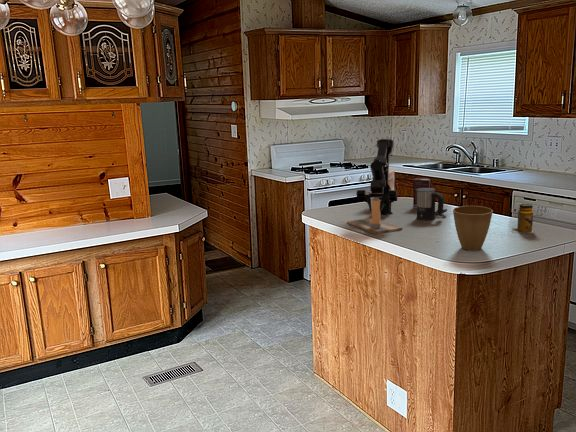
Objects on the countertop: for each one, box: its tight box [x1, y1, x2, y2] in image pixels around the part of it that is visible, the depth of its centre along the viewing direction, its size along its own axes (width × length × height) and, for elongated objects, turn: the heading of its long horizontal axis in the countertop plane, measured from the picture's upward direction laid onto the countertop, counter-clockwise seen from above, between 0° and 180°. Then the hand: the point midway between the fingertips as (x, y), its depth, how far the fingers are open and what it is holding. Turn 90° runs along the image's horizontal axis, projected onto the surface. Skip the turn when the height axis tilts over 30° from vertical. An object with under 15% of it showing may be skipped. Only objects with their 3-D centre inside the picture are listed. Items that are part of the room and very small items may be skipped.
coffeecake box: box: [372, 169, 395, 206], centre depth 302 cm, size 15×7×20 cm, turn 147°
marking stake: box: [371, 197, 382, 228], centre depth 251 cm, size 4×4×14 cm
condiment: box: [511, 203, 534, 234], centre depth 237 cm, size 7×8×12 cm
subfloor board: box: [346, 217, 403, 235], centre depth 258 cm, size 15×25×1 cm, turn 24°
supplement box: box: [412, 178, 431, 209], centre depth 292 cm, size 9×5×16 cm, turn 65°
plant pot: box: [452, 205, 494, 251], centre depth 214 cm, size 15×15×16 cm
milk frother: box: [415, 187, 448, 221], centre depth 270 cm, size 14×16×15 cm
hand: (375, 210), depth 249 cm, fingers open, 4 cm apart
